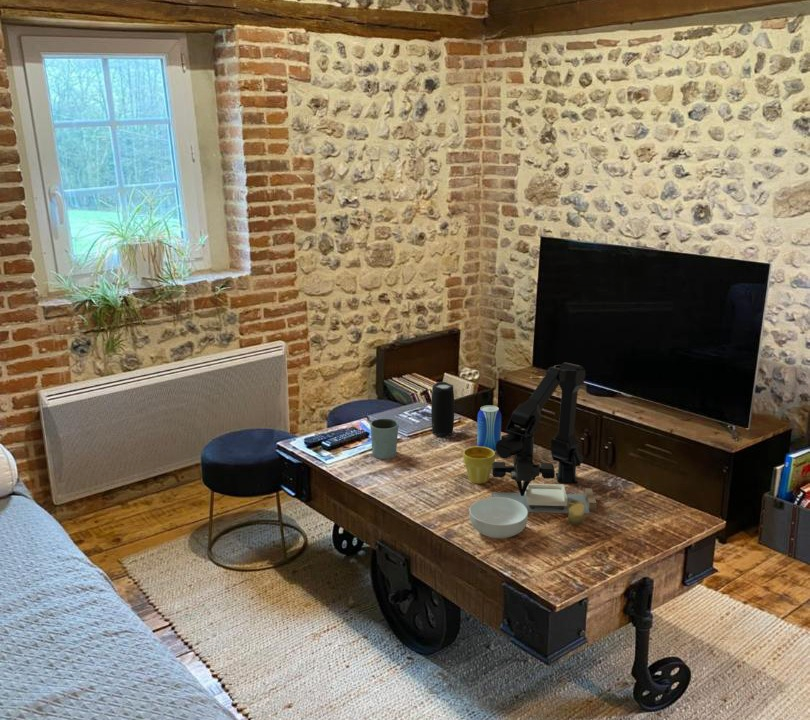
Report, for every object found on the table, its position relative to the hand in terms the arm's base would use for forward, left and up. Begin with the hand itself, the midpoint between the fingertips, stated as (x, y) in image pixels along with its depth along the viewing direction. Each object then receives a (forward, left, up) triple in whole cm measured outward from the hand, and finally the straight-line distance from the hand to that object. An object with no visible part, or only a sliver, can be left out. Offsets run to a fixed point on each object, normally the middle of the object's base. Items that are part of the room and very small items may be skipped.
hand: (522, 495), depth 248 cm
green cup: (-35, -46, -3) cm, 58 cm away
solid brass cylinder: (+12, +15, -2) cm, 19 cm away
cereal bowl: (+19, -8, -3) cm, 21 cm away
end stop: (0, +21, -2) cm, 21 cm away
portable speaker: (-56, -26, -3) cm, 62 cm away
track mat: (0, +5, -2) cm, 6 cm away
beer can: (-41, -9, -3) cm, 42 cm away
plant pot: (-16, -13, -3) cm, 21 cm away
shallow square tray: (0, +7, -2) cm, 8 cm away
